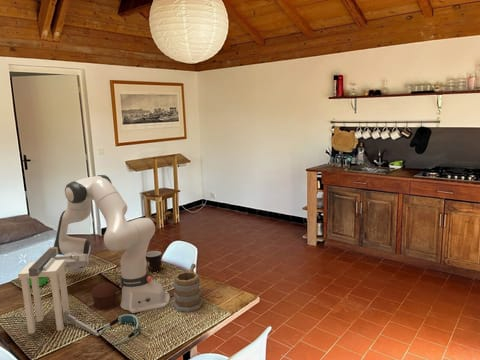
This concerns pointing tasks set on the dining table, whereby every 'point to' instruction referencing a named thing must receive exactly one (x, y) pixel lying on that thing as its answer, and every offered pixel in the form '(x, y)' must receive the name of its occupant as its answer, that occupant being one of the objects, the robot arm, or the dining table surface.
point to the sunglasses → (128, 319)
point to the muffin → (104, 295)
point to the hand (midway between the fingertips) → (61, 257)
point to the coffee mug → (153, 261)
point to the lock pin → (42, 261)
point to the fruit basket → (41, 281)
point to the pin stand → (48, 270)
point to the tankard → (187, 291)
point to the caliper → (77, 323)
